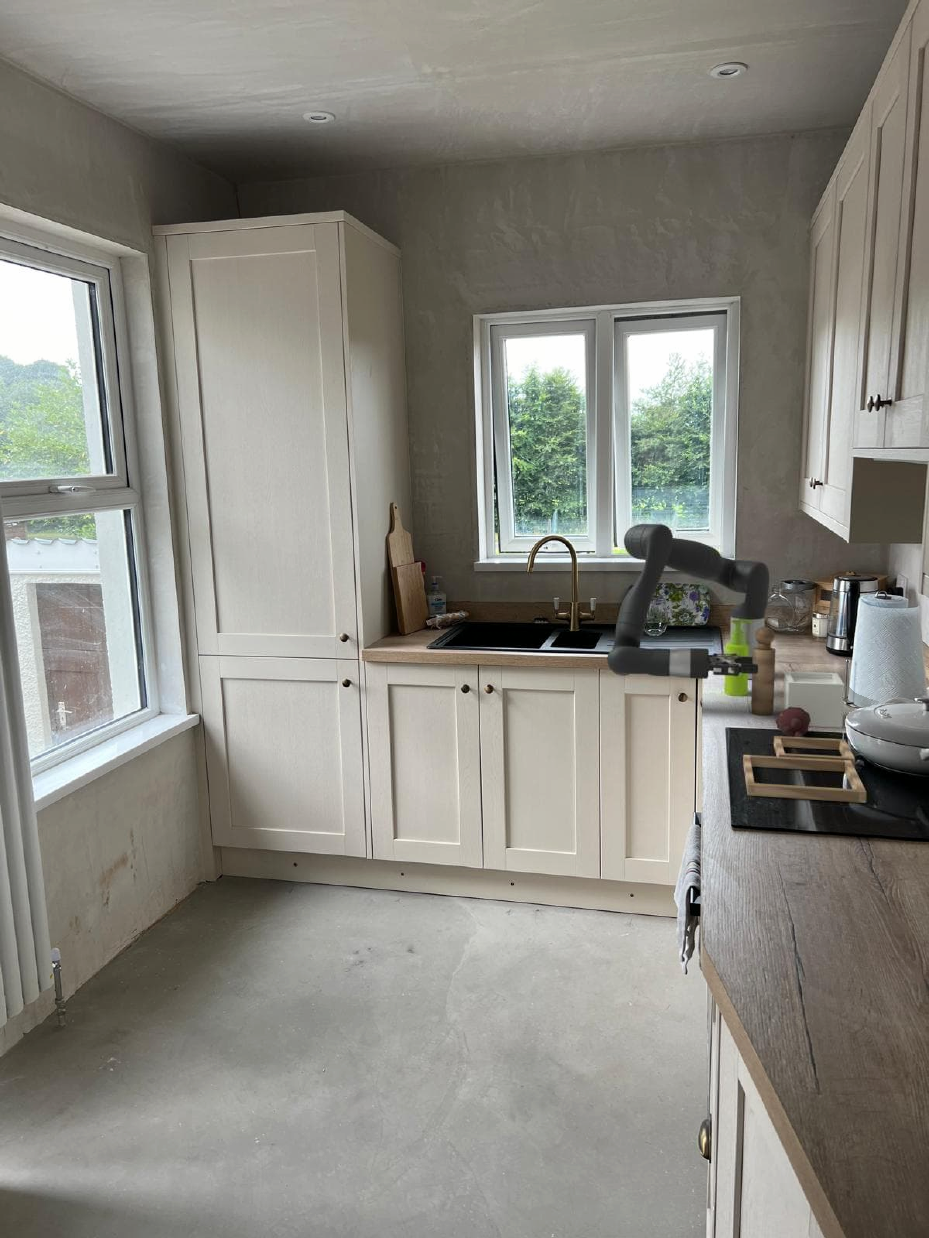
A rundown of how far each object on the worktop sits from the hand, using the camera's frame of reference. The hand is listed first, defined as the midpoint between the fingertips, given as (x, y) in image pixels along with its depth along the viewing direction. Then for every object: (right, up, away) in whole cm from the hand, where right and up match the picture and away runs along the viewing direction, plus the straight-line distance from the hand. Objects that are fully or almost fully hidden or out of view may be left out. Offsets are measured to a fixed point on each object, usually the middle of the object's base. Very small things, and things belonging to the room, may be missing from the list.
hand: (757, 665), depth 223 cm
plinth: (+11, -13, -5) cm, 18 cm away
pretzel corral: (-7, -20, -47) cm, 52 cm away
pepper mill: (+2, -12, +2) cm, 12 cm away
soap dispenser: (+2, -9, +21) cm, 23 cm away
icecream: (+2, -15, -18) cm, 23 cm away
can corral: (+1, -17, -32) cm, 36 cm away
